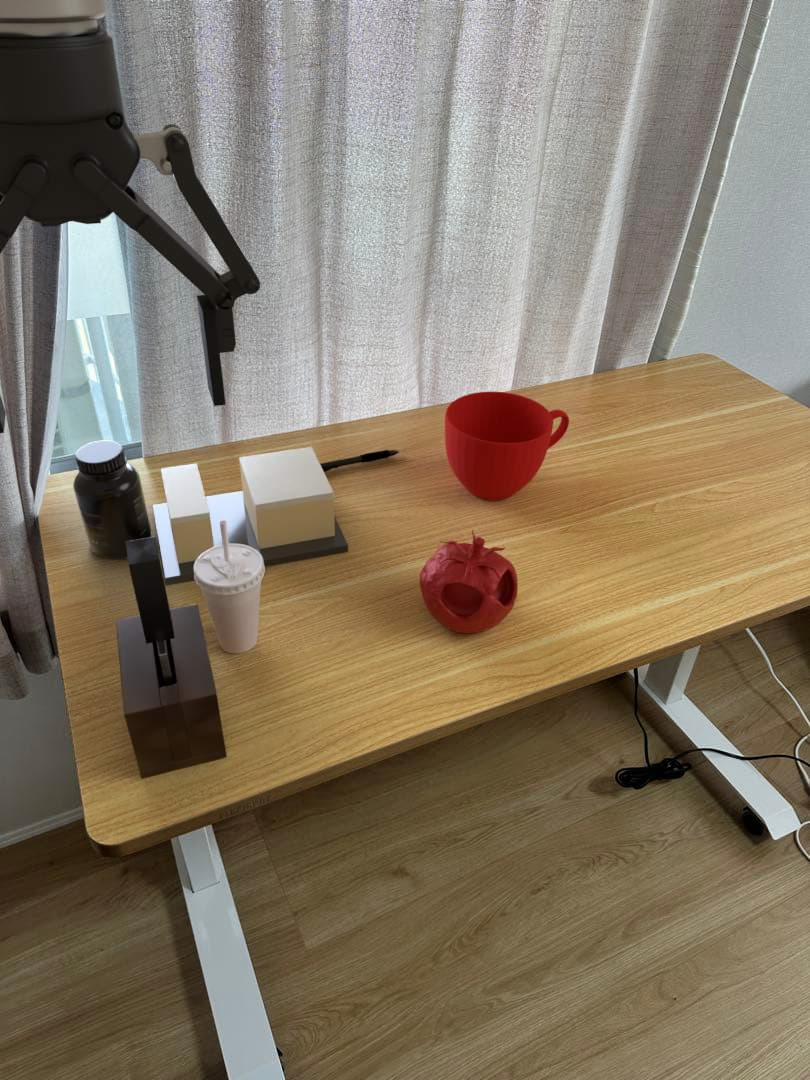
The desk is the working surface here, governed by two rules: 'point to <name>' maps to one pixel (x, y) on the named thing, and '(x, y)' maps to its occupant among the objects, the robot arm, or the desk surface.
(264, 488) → the cake
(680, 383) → the desk surface
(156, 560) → the knife
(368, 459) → the pen
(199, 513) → the cream rectangular block
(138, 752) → the knife block
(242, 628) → the smoothie
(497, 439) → the ceramic cup
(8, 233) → the robot arm
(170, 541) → the cake board
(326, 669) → the desk surface
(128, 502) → the supplement bottle
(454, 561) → the pomegranate
